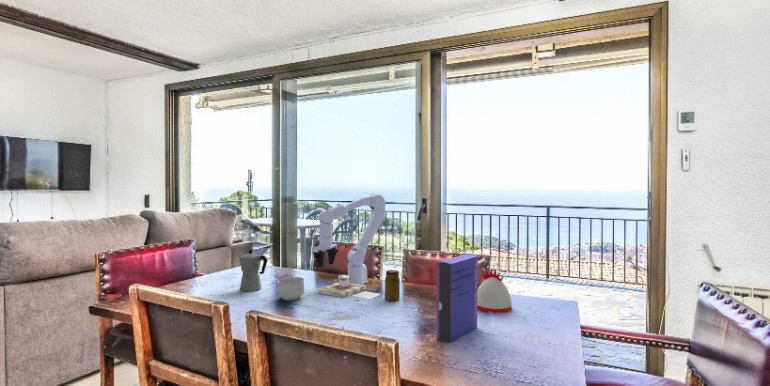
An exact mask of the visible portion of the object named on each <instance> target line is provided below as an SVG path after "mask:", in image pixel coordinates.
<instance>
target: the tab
mask: <svg viewBox="0 0 770 386" xmlns="http://www.w3.org/2000/svg"><path fill="white" fill-rule="evenodd" d="M379 296H382V293H376V292H370V291H364V290H363V291H360V292H357V293H355V294H352V297H356V298H361V299H366V300H372V299H374V298H377V297H379Z"/></svg>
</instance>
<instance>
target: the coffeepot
mask: <svg viewBox="0 0 770 386" xmlns="http://www.w3.org/2000/svg"><path fill="white" fill-rule="evenodd" d="M237 258H239V263H240V269H241V272H242V275H241V281H240V286H239V291H240V292H244V293H251V292H253V293H254V292H258V291H260V290H261V289H262V284H261V279H260V277H261V276H260V275H264V274H265V271H266V268H267V263H268V258H267V257H266V255H261V254H257V253H253V249H248V253H245V254H241V255H240V254H239V255H238V256H237ZM261 261H263V263H262V267H261ZM260 267H261V271H259V270H260Z"/></svg>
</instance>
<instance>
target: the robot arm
mask: <svg viewBox="0 0 770 386" xmlns="http://www.w3.org/2000/svg"><path fill="white" fill-rule="evenodd" d="M386 204H387V203H386V200H385V198H384V196H383V195H381V194H374V193H372V194H369V195H365V196H362V197H360V198H358V199H355V200H353V201H351V202H349V203H347V204H344V203H337V204H336V205H334V206H333V207H328V208H326V209H327V210H322V211H320V213H319V214H318V216H317V217H318V220H319V245H318V246H315V247H313V252H312V253H313V256H314V257H315V259H316V264H317V267H318V268H323V266H324V258H325V254H326V253H327V257H328V265H334V263H335V258H336V255H337V253H338V252H339V248H338V243H333V226H332V225H333V221H335V220H337V219H339V218H340V219H341V218H342V217H344V216H347V215H348V212H350V211H352V210H353V211H354V209H355V210H356V209H357V208H360V207H363V206H367V207H369V209H370V210H371V212H372V217H371V218H370V220H369V222H368V223H367V225H366V227H365V228H364V231H363V233H362V234H361V236H360V238H359V239H358V241H357V243H356V244H354V246H353V247H352V248H351V249H350V250H349V251H348V252H347V253H346V254H347V255H346V258H347V261H348V263H347V275H349V279H348V283H354V284H360V285H364V284H365V283H366V284H367V283H368V282H370V281H369V280H368V268H367V265H366V264H364V262H365V256H366V255H367V249H368V247H369V245H370V243H371V242H372V240H373V239H374V236H375V235H376V232H378V229H379V227H380V225H381V224H382V222H383V220H384V218H385V217H386ZM323 251H326V252H323Z"/></svg>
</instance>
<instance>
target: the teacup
mask: <svg viewBox="0 0 770 386" xmlns="http://www.w3.org/2000/svg"><path fill="white" fill-rule="evenodd" d="M276 285H277V292H278V293H277V294H278V296H279V297H280V298H281V299H282V300H283V301H290V302H291V301H297V300H299V299H300V298H301V297H302V296H303V294H304V292H305V278H304V277H300V276H289V277H284V278H280V279H279V280H277V281H276Z"/></svg>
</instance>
